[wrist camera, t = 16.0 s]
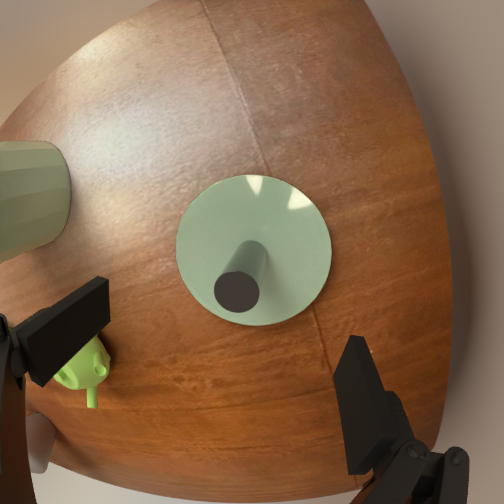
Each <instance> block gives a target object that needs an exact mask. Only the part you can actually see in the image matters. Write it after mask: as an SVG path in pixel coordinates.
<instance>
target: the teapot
mask: <svg viewBox="0 0 504 504" xmlns="http://www.w3.org/2000/svg"><path fill="white" fill-rule="evenodd" d="M97 336H98V334H97V335H95V336H94V337H93V338H92V339H91V340H90V341H89V342H88V343H87V344H86V345H85V346H84V347H83V348H82V349H81V350H80V351H79V352H78V353H77V354H76V355H75V356H74V357H73V358H72V359H71V360H69V361H68V362H67V363H66V364H65V365H64V366H63V367H62V368H61V369H60V370H59V371H58V372H57V373H56V374H55V375H54V376H53V377H54V379H55V380H56V381H57V382H59V383H61V384H63V385H64V386H66V387H68V388H70V389H85V388H87V407H89V408H96V409H98V404H97V384H99V383H100V382H102V381H103V380H104V379H105V378H106V377H107V376H108V373H109V368H110V366H109V361H110V359H111V358H110V356H109V354H108V353H107V352H106V350H105V348H104V346H103V344H102V343H101V341H100V340H99V338H98V337H97Z"/></svg>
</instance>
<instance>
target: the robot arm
mask: <svg viewBox="0 0 504 504" xmlns="http://www.w3.org/2000/svg"><path fill="white" fill-rule="evenodd" d="M110 321H111V319H110V303H109V279H106V278H103V277H99V276H97V277H96V278H94V279H93V280H91V281H89V282H88V283H86V284H85V285H83V286H82V287H80V288H78V289H77V290H75V291H74V292H72V293H71V294H69V295H68V296H66V297H65V298H63V299H62V300H60V301H59V302H57V303H56V304H54V305H53V306H51V307H47V308H44V309H41V310H39V311H38V312H36V313H35V314H33V316H30V317H29V318H28V319H26V320H24V321H23V322H22V323H20V324H19V325H17V326H16V327H14V328H13V329H12V330H10V331H9V327H8V323H7V319H6V317H5V315H3V314H1V313H0V504H37V503H36V498H35V493H34V488H33V483H32V478H31V472H30V465H29V457H28V448H27V437H26V417H25V387H26V379H25V375H24V374H25V373H26V372H27V371H28V372H29V375H30V378H31V380H32V381H33V382H35V383H36V384H38V385H39V386H41V387H42V388H43V387H44V385H45V384H46V383H47V382H48V381H49V380H50V379H51V378H52V377H53V376H54V375H55V374H56V373H57V372H58V371H59V370H60V369H61V368H62V367H63V366H64V365H65V364H66V363H67V362H68V361H69V360H71V359H72V358H73V357H74V356H75V355H76V354H77V353H78V352H79V351H80V350H81V349H82V348H83V347H84V346H85V345H86V344H87V343H88V342H89V341H90V340H91V339H92V338H93V337H94V336H95V335H97V334H98V333H99V332H100V331H101V330H102V329H103V328H104V327H105V326H106V325H107V324H108V323H109V322H110ZM333 377H334V382H335V388H336V393H337V399H338V405H339V411H340V418H341V424H342V431H343V437H344V444H345V452H346V459H347V467H348V475H365V474H366V473H367V472H368V471H369V470H370V469H371V468H372V467H373V472H374V475H373V476H372V477H371V478H370V479H369V480H368V481H367V482H366V483H365V484H364V485H362V486H363V488H362V490H361V491H360V492H359V493H358V494H357V496H356V497H355V498H354V499H353V500H352V502H351V503H350V504H467V495H468V482H469V456H468V454H467V452H466V451H465V450H463V449H462V448H460V447H451V448H449V449H448V450H447V451H446V452H445V453H444V454H442V453H435V452H430V451H429V449H428V447H427V446H426V445H425V444H424V443H423V442H421V441H419V440H416V439H415V437H414V435H413V432H412V429H411V426H410V424H409V421H408V418H407V416H406V413H405V411H404V409H403V406H402V403H401V400H400V399H399V397H398V396H397V395H396V394H395V393H394V392H393V391H385V390H384V387H383V385H382V382H381V379H380V377H379V374H378V371H377V369H376V366H375V364H374V361H373V359H372V356H371V354H370V351H369V349H368V346H367V344H366V341H365V339H364V337H361V336H355V335H350V337H349V339H348V342H347V344H346V347H345V349H344V352H343V354H342V356H341V359H340V361H339V363H338V366H337V368H336V370H335V372H334V374H333Z"/></svg>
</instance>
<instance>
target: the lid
mask: <svg viewBox="0 0 504 504" xmlns="http://www.w3.org/2000/svg"><path fill="white" fill-rule="evenodd" d="M331 256H332V249H331V240H330V235H329V231H328V228H327V226H326V223H325V221H324V219H323V217H322V215H321V213H320V212H319V210H318V209H317V208H316V206H315V205H314V203H313V202H312V201H311V200H310V199H309V198H308V197H307V196H306V195H305V194H303V193H302V192H301V191H300V190H298V189H297V188H295V187H294V186H292V185H290V184H289V183H287V182H284V181H282V180H279V179H277V178H273V177H269V176H264V175H240V176H233V177H230V178H227V179H223V180H221V181H219V182H217V183H215V184H213V185H211V186H210V187H208V188H207V189H205V190H204V191H203V192H201V193H200V194H199V195H198V196H197V197H196V198H195V199H194V200H193V201H192V203H191V204H190V205H189V207H188V208H187V210H186V211H185V213H184V215H183V217H182V219H181V221H180V225H179V228H178V231H177V237H176V259H177V264H178V268H179V271H180V274H181V277H182V279H183V281H184V283H185V285H186V286H187V288H188V289H189V291H190V292H191V294H192V295H193V296H194V297H195V298H196V300H197V301H198V302H199V303H200V304H202V305H203V306H204V307H205V308H206V309H208V310H209V311H210V312H212V313H213V314H215V315H217V316H219V317H221V318H223V319H225V320H228V321H231V322H234V323H238V324H243V325H254V326H259V325H269V324H274V323H278V322H281V321H284V320H286V319H289V318H291V317H293V316H295V315H296V314H298V313H299V312H301V311H302V310H304V309H305V308H306V307H307V306H308V305H309V304H310V303H311V302H312V301H313V300H314V299H315V298H316V297H317V295H318V294H319V292H320V291H321V289H322V287H323V286H324V284H325V282H326V279H327V276H328V274H329V270H330V265H331Z"/></svg>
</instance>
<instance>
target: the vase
mask: <svg viewBox="0 0 504 504" xmlns="http://www.w3.org/2000/svg"><path fill="white" fill-rule="evenodd" d="M55 431H56V429H55V427H54V425H53V424H52V423H51V422H50V421H49V420H48V419H47V418H46V417H45V416H43V415H42V414H40V413H36V414H33V415H30V416H27V417H26V437H27V448H28V457H29V465H30V472H32V473H39V474H41V473H44V472H45V471H46V469H47V466H48V463H49V459H50V455H51V451H52V447H53V443H54V437H55Z"/></svg>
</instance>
